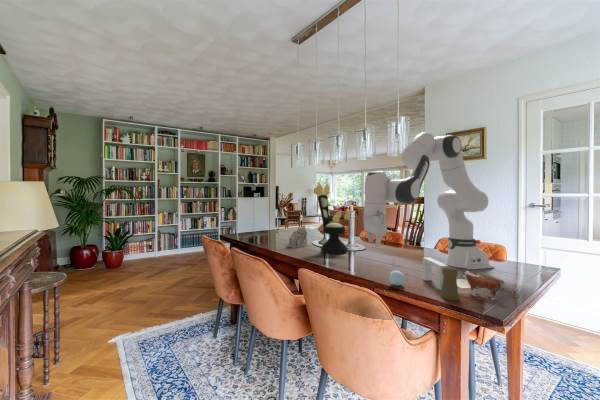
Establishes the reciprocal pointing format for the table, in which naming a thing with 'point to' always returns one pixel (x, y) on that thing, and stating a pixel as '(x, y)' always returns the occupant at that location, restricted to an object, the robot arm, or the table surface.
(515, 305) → the table surface
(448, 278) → the olive tall rounded piece
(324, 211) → the candelabra
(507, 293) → the table surface
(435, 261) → the bridge
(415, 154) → the robot arm
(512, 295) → the table surface
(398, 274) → the ball
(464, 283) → the blank cream square sheet
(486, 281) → the bull figurine
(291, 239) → the ceramic cottage
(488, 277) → the stopper
